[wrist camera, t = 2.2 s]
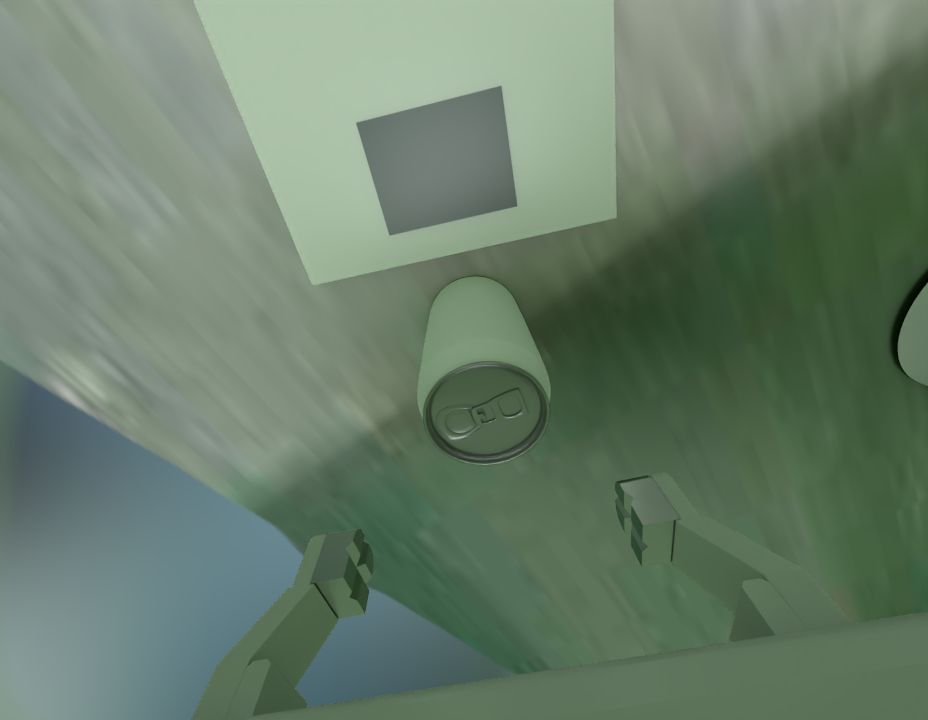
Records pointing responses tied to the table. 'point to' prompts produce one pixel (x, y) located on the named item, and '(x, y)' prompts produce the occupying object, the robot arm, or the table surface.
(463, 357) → the can
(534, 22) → the panel
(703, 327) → the table surface
